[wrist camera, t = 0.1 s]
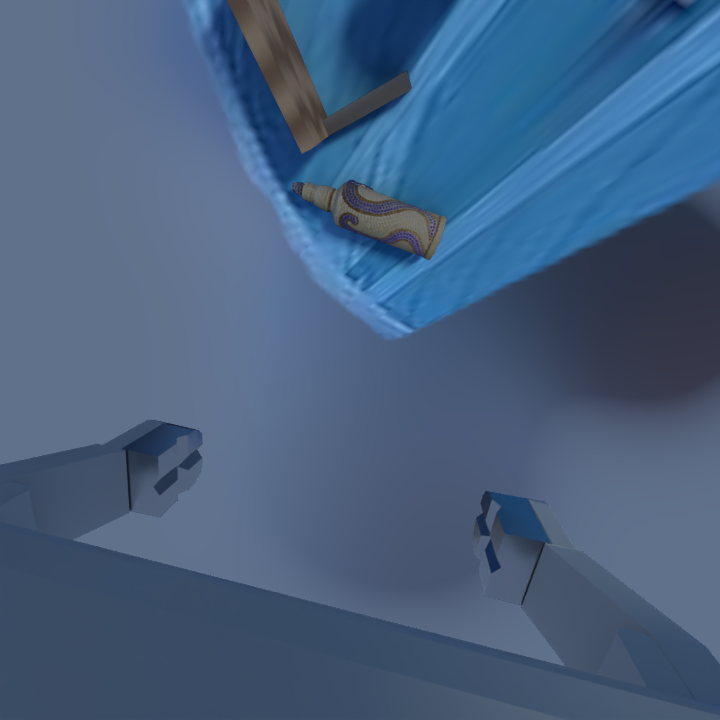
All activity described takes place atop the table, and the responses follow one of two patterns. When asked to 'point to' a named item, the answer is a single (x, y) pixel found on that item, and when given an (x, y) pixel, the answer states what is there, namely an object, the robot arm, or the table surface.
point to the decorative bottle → (377, 216)
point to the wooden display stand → (300, 75)
